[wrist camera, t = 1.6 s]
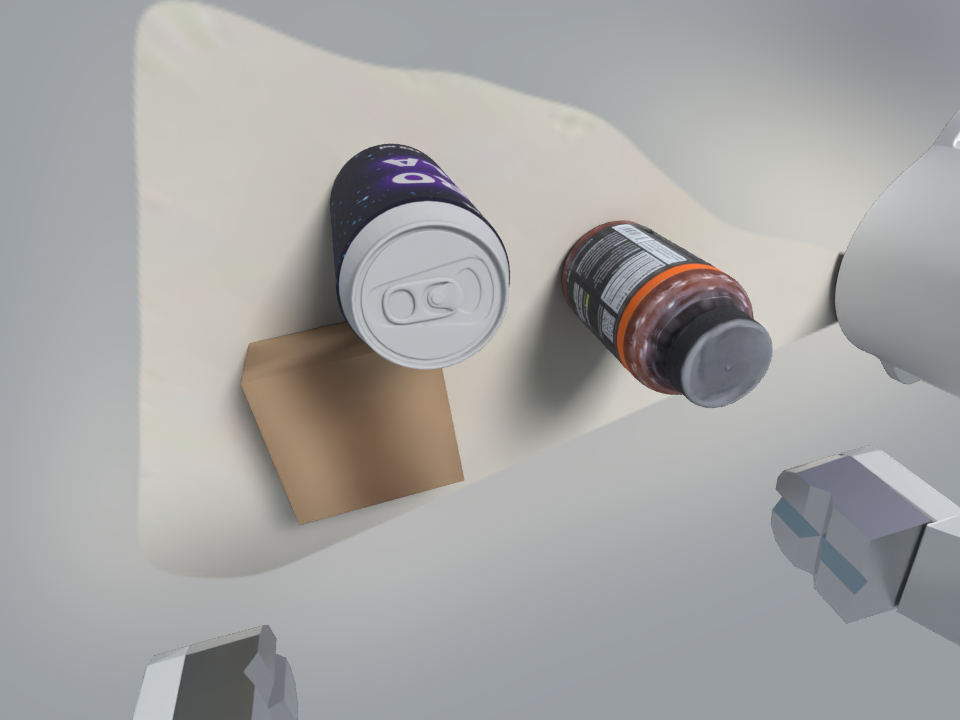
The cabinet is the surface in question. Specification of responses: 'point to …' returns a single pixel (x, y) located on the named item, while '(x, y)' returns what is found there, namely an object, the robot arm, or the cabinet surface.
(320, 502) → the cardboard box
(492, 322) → the beverage can
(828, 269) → the cabinet surface
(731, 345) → the supplement bottle
